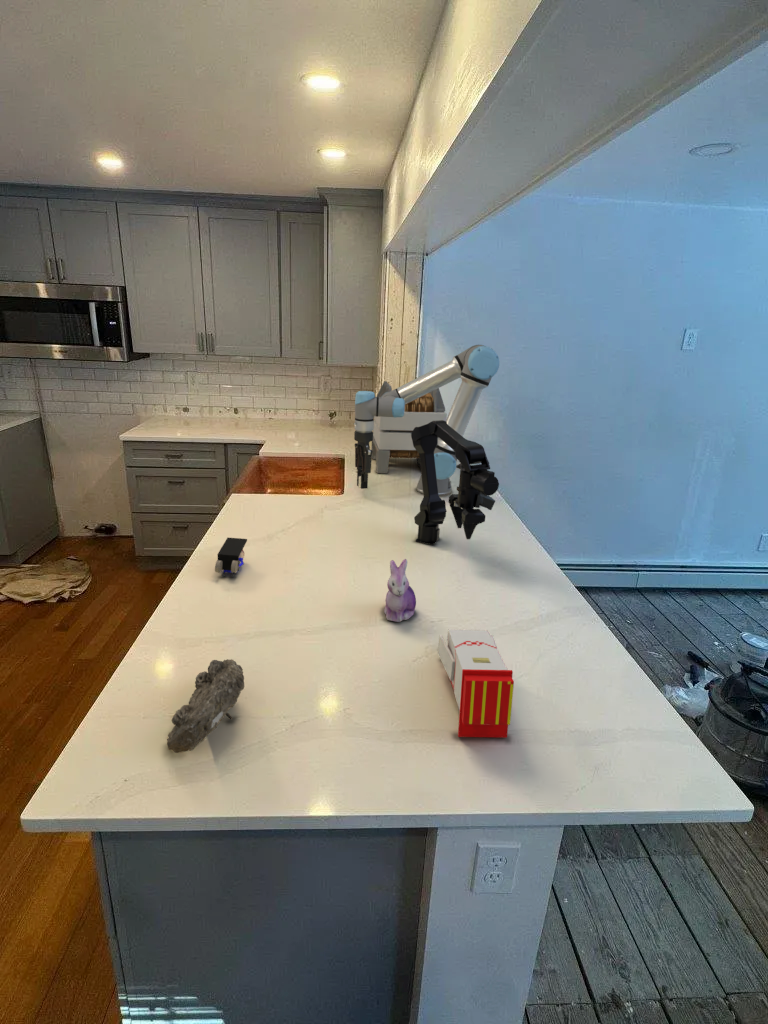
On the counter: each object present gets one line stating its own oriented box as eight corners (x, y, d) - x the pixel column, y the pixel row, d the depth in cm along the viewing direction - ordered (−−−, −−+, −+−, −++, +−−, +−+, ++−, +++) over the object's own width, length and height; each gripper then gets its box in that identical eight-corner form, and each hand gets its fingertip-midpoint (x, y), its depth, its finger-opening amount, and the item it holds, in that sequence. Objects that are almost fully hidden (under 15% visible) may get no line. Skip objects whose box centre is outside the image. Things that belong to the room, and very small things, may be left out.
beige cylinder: (357, 486, 235) (357, 476, 233) (364, 485, 236) (364, 475, 235) (361, 489, 232) (361, 478, 230) (368, 488, 233) (368, 477, 232)
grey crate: (370, 456, 302) (373, 378, 288) (430, 457, 305) (436, 380, 292) (376, 473, 270) (380, 387, 256) (443, 474, 274) (450, 389, 260)
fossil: (192, 660, 117) (244, 628, 112) (224, 691, 120) (276, 661, 115) (142, 746, 98) (202, 712, 93) (182, 779, 101) (242, 748, 96)
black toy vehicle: (238, 584, 162) (249, 557, 175) (236, 562, 158) (247, 536, 172) (215, 584, 161) (227, 556, 175) (212, 561, 158) (225, 535, 171)
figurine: (392, 627, 141) (395, 572, 136) (374, 608, 149) (376, 556, 144) (425, 619, 145) (429, 566, 140) (405, 601, 154) (408, 550, 149)
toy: (488, 613, 130) (523, 677, 101) (484, 667, 133) (517, 744, 104) (435, 612, 130) (455, 676, 101) (432, 666, 133) (451, 743, 103)
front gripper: (504, 495, 164) (498, 544, 169) (483, 476, 181) (478, 522, 187) (468, 495, 162) (463, 545, 167) (450, 477, 179) (446, 523, 185)
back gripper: (347, 427, 231) (346, 481, 239) (362, 435, 217) (361, 493, 225) (364, 426, 234) (363, 480, 242) (380, 434, 220) (378, 492, 228)
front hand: (463, 533), depth 177 cm, fingers open, 9 cm apart
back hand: (362, 486), depth 234 cm, fingers closed on beige cylinder, 3 cm apart
